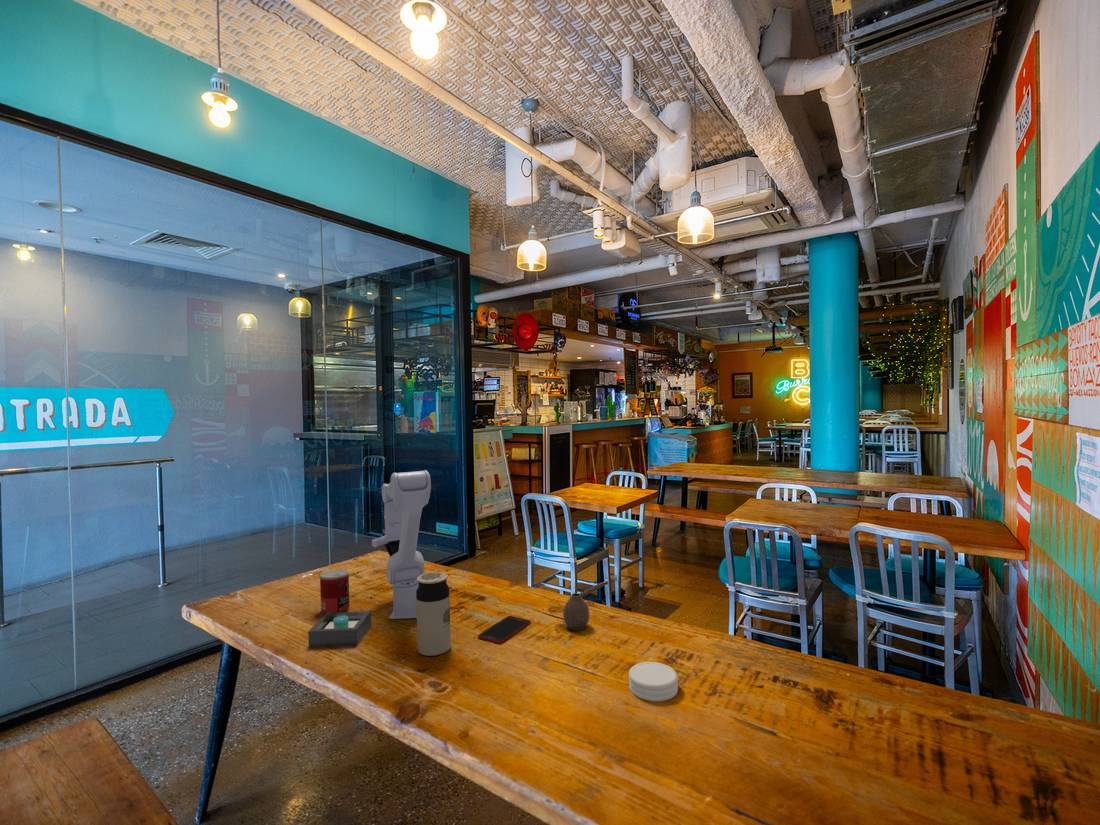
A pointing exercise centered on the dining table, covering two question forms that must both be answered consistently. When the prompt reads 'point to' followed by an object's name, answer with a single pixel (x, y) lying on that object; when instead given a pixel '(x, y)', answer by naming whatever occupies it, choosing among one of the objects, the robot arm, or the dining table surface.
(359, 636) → the press housing
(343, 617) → the plunger
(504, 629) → the cell phone
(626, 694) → the dining table surface
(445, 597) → the travel mug
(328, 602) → the canned food
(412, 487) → the robot arm
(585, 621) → the vase
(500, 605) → the dining table surface
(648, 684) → the coaster
